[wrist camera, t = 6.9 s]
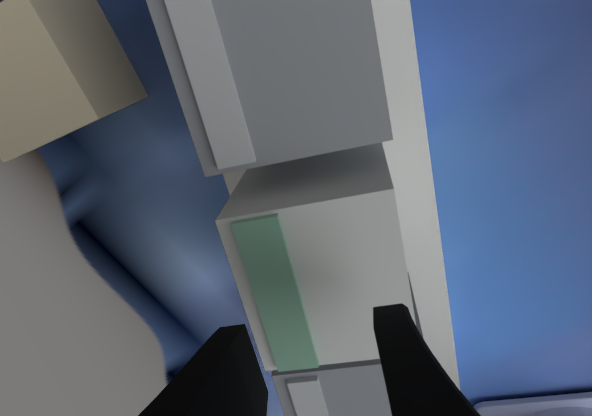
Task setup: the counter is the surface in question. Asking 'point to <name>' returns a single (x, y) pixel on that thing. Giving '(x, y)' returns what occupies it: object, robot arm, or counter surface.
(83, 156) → the counter surface
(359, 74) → the din rail
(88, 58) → the block
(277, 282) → the block
